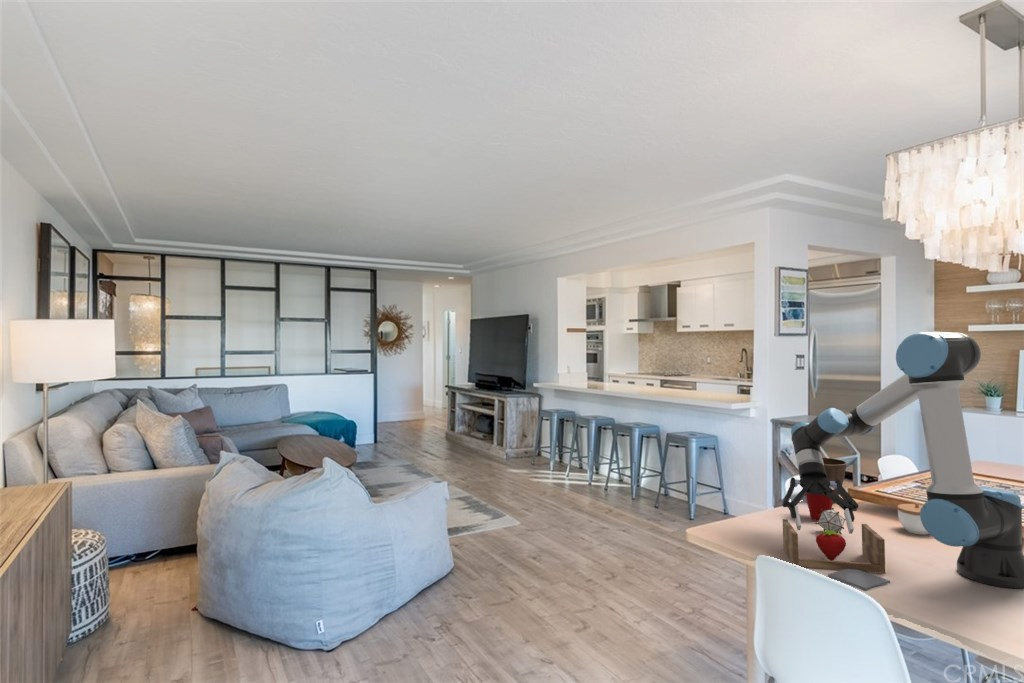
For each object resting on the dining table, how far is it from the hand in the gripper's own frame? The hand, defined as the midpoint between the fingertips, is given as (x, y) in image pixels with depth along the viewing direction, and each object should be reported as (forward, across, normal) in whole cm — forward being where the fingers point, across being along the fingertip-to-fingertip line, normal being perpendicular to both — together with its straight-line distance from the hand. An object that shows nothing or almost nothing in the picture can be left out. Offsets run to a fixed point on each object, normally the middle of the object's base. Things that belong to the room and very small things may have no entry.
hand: (825, 529), depth 162 cm
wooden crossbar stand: (+7, -1, -4) cm, 8 cm away
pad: (+17, -4, +6) cm, 18 cm away
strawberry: (+8, -1, -4) cm, 8 cm away
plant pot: (-40, -16, -52) cm, 68 cm away
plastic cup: (-22, -8, -34) cm, 41 cm away
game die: (-10, -7, -22) cm, 26 cm away
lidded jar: (-16, -35, -28) cm, 47 cm away
